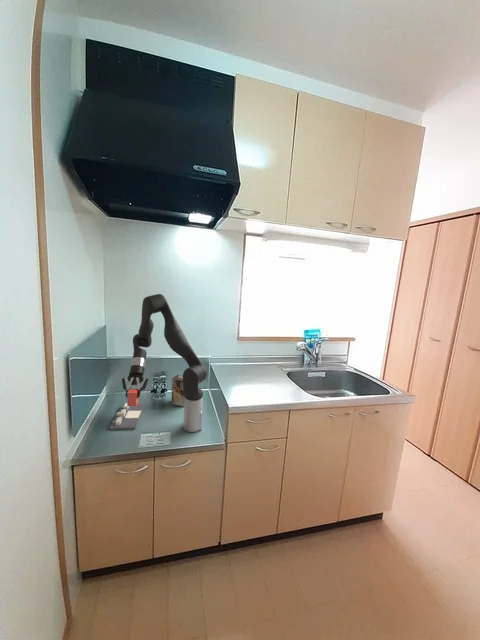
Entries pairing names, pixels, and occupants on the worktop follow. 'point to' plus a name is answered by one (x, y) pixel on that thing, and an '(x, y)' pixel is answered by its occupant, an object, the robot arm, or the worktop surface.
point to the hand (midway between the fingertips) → (132, 397)
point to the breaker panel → (127, 417)
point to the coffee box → (177, 390)
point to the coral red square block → (132, 397)
